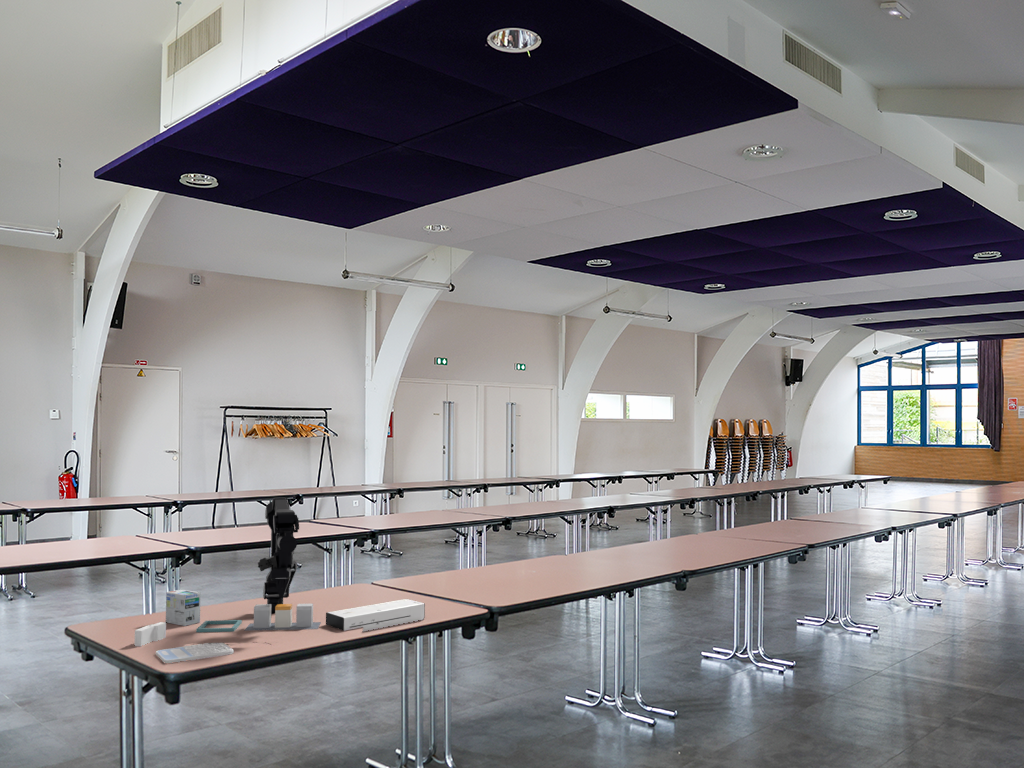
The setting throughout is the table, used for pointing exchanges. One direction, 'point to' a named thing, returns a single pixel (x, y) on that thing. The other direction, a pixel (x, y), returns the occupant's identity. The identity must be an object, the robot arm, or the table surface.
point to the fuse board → (293, 627)
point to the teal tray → (203, 629)
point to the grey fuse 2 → (304, 615)
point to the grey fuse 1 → (262, 616)
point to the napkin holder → (150, 633)
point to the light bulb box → (183, 607)
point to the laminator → (377, 615)
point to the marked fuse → (283, 615)
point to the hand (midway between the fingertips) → (283, 594)
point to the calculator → (194, 652)
